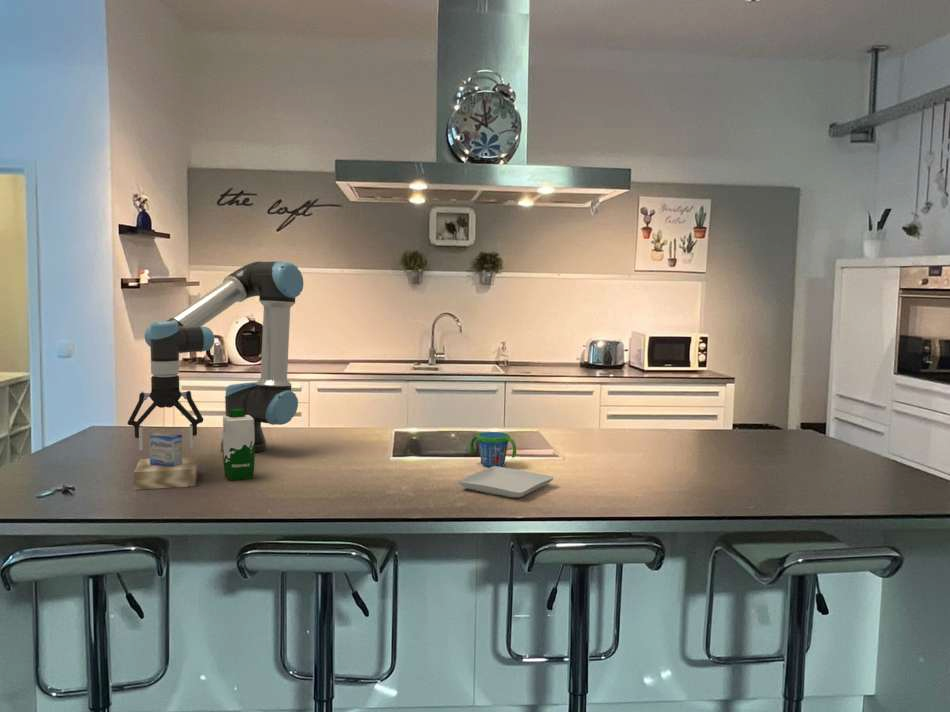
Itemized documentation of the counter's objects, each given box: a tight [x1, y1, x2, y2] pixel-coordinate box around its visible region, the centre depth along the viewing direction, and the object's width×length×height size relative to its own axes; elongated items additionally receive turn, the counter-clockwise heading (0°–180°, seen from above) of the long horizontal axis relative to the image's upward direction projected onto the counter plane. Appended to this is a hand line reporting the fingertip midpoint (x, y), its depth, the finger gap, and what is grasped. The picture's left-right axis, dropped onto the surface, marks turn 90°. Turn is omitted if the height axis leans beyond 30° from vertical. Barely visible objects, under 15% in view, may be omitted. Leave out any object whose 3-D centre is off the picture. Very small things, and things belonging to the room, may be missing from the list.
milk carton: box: [222, 409, 256, 481], centre depth 232 cm, size 9×9×20 cm
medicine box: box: [149, 432, 183, 466], centre depth 226 cm, size 8×4×9 cm, turn 79°
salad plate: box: [457, 466, 554, 499], centre depth 226 cm, size 21×21×3 cm
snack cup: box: [469, 431, 517, 468], centre depth 253 cm, size 16×10×10 cm
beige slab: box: [133, 456, 198, 491], centre depth 226 cm, size 16×16×5 cm
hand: (166, 448), depth 226 cm, fingers open, 13 cm apart
